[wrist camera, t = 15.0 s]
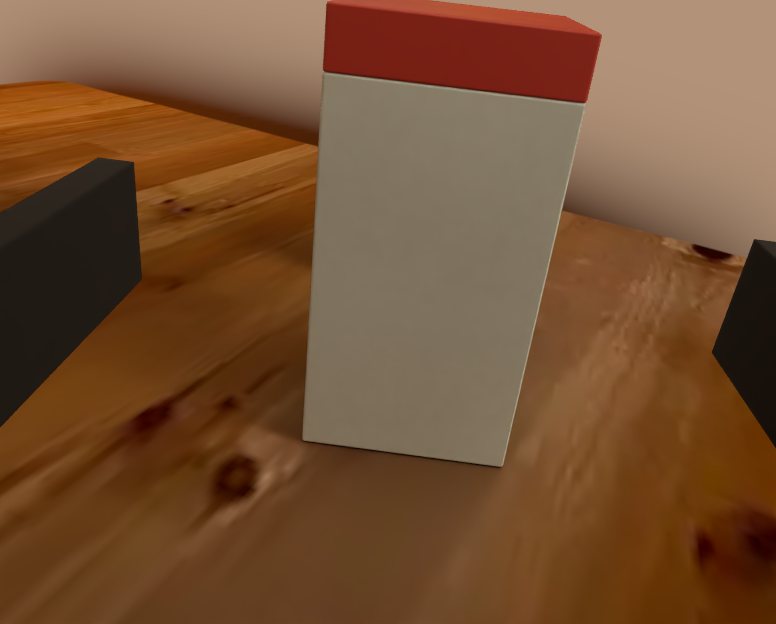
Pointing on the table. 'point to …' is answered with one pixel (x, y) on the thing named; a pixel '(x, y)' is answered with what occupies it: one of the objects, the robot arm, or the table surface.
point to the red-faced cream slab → (436, 218)
